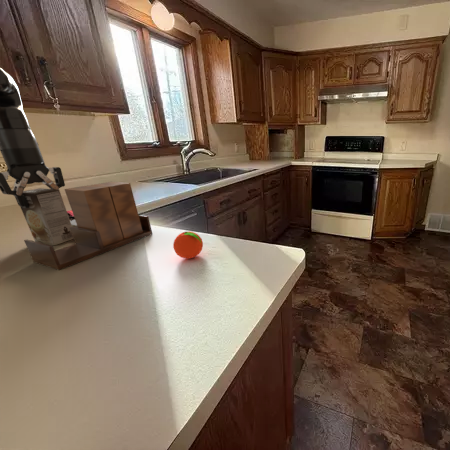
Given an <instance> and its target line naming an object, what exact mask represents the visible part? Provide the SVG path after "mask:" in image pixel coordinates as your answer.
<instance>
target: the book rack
mask: <svg viewBox="0 0 450 450" xmlns="http://www.w3.org/2000/svg"><path fill="white" fill-rule="evenodd" d="M64 192H65V195H66V198H67V201H68V204H69V206H70V210H72V212H73V215H74V218H75V219H74V220H75V221H76V223H77V226H78V227H71V228H70V230H71V232H72V235H73V238H74V239H73V240H74V244H70V245H67V246H64V247H61V248H58V249H54V245H49V244H43V243H39V242H35V240H31V239H24V241H23V242H24V243H25V246H26V248H27V250H28V253H29V254H30V255H29V256H30V257H31V259H32V262H33V263H35V264H39V265H42V266H45V267H48V268H51V269H54V270H58V271H60V270H63V269H66V268H68V267H70V266H71V267H72V266H73V265H76V264H79V263H81V262H83V261H86V260H89V259H92V258H94V257H96V256H99V255H102V254H104V253H108V252H109V251H112V250H114V249H117V248H120V247H122V246H125V245H127V244H130V243H132V242H135V241H138V240H141V239H143V238H146V237H148V236H151V235H153V230H152V226H151V222H150V218H149V215H143V214H139V213H138V208H137V204H136V201H135V197H134V192H133V188H132V185H131V182H123V181H108V182H101V183H95V184H90V185H88V184H87V185H82V186H76V187H69V188H64ZM150 234H151V235H150ZM145 236H146V237H145Z"/></svg>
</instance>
